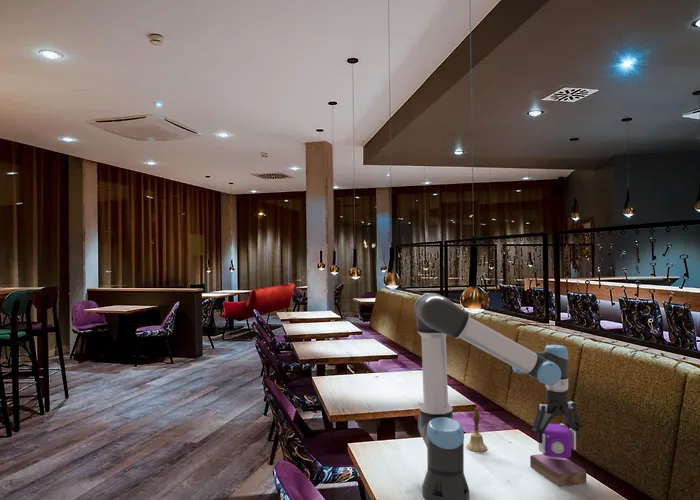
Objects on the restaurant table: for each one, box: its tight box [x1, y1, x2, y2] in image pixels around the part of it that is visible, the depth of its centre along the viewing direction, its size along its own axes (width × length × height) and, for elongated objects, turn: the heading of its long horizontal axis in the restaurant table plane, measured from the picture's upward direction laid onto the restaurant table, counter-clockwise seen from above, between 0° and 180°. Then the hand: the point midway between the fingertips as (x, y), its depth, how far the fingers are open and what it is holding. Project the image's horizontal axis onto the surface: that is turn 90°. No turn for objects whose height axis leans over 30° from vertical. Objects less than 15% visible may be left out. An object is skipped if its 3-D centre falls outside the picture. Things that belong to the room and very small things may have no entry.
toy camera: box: [542, 423, 572, 459], centre depth 174 cm, size 11×14×10 cm
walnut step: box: [529, 453, 587, 488], centre depth 174 cm, size 11×16×4 cm
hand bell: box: [465, 407, 488, 453], centre depth 199 cm, size 8×8×16 cm
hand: (557, 450), depth 174 cm, fingers closed on toy camera, 12 cm apart
